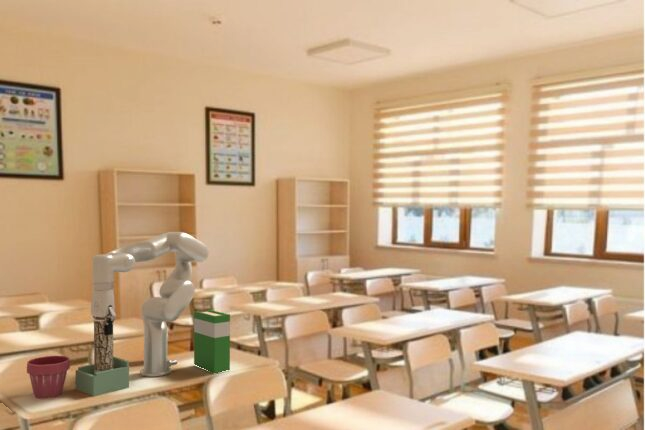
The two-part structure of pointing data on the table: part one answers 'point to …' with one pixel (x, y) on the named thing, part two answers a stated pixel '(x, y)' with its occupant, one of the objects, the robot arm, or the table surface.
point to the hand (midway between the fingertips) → (103, 333)
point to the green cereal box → (212, 340)
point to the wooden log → (102, 347)
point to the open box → (103, 378)
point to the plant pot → (48, 375)
